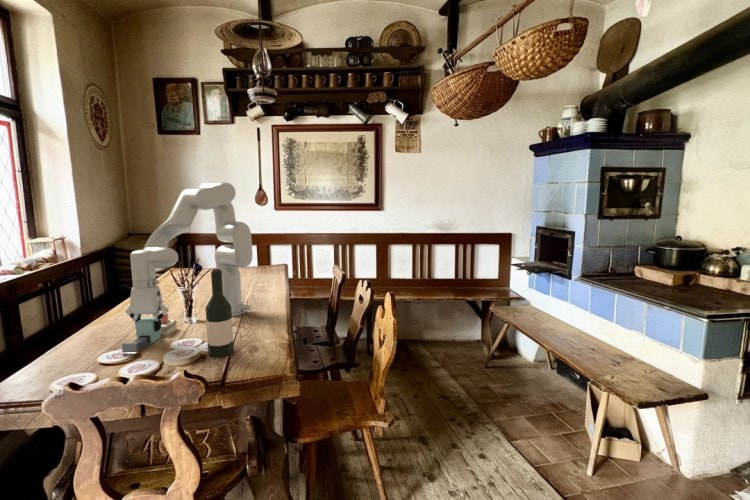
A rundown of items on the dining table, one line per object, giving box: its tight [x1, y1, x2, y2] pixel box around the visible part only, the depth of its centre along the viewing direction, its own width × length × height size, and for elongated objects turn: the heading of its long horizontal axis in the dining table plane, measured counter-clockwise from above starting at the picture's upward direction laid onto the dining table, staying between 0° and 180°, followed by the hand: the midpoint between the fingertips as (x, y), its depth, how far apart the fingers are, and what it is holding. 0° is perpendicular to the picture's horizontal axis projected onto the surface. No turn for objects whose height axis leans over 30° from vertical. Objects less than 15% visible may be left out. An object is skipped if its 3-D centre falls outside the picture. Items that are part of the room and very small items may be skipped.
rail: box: [121, 336, 151, 353], centre depth 148 cm, size 5×17×4 cm, turn 1°
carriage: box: [134, 316, 162, 344], centre depth 152 cm, size 6×6×8 cm
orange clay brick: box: [161, 312, 169, 322], centre depth 161 cm, size 2×1×4 cm
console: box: [160, 319, 178, 337], centre depth 161 cm, size 10×8×5 cm
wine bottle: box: [205, 267, 235, 359], centre depth 139 cm, size 8×8×30 cm
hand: (148, 329), depth 152 cm, fingers closed on carriage, 6 cm apart
